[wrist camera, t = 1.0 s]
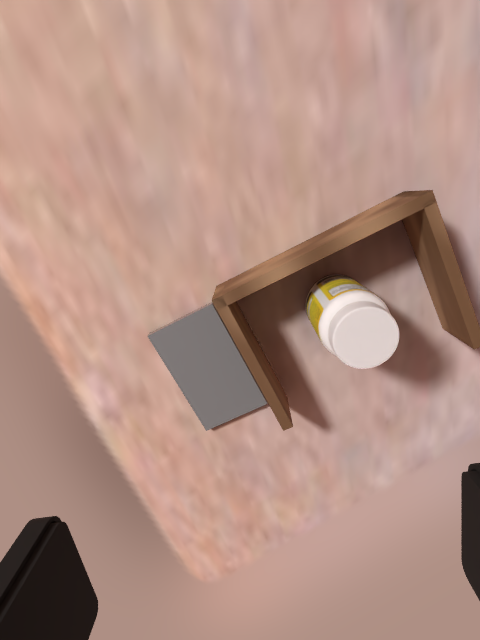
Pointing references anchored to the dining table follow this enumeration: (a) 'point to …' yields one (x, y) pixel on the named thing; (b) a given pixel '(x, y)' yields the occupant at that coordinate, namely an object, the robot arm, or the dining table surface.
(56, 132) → the dining table surface
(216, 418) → the slate coaster
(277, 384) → the walnut bay
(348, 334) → the supplement bottle
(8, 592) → the robot arm
